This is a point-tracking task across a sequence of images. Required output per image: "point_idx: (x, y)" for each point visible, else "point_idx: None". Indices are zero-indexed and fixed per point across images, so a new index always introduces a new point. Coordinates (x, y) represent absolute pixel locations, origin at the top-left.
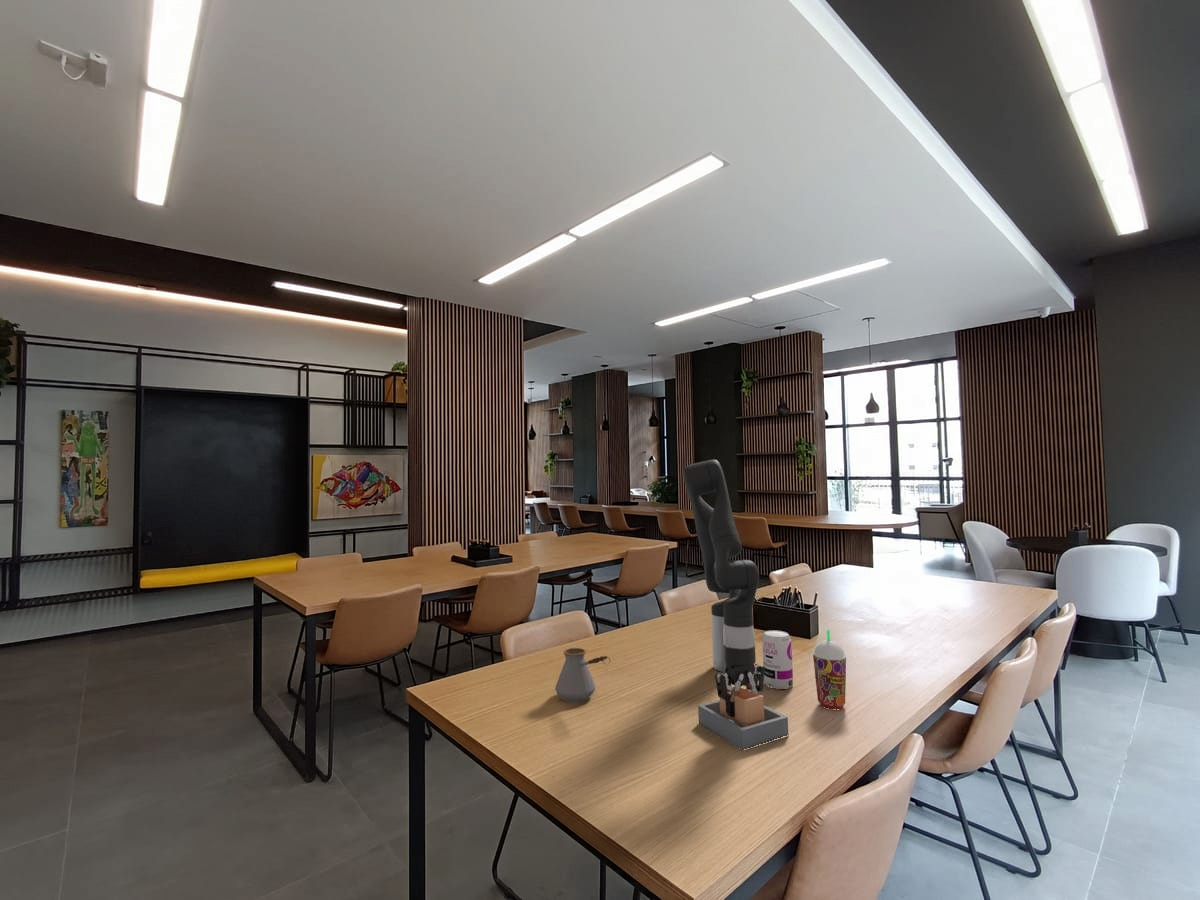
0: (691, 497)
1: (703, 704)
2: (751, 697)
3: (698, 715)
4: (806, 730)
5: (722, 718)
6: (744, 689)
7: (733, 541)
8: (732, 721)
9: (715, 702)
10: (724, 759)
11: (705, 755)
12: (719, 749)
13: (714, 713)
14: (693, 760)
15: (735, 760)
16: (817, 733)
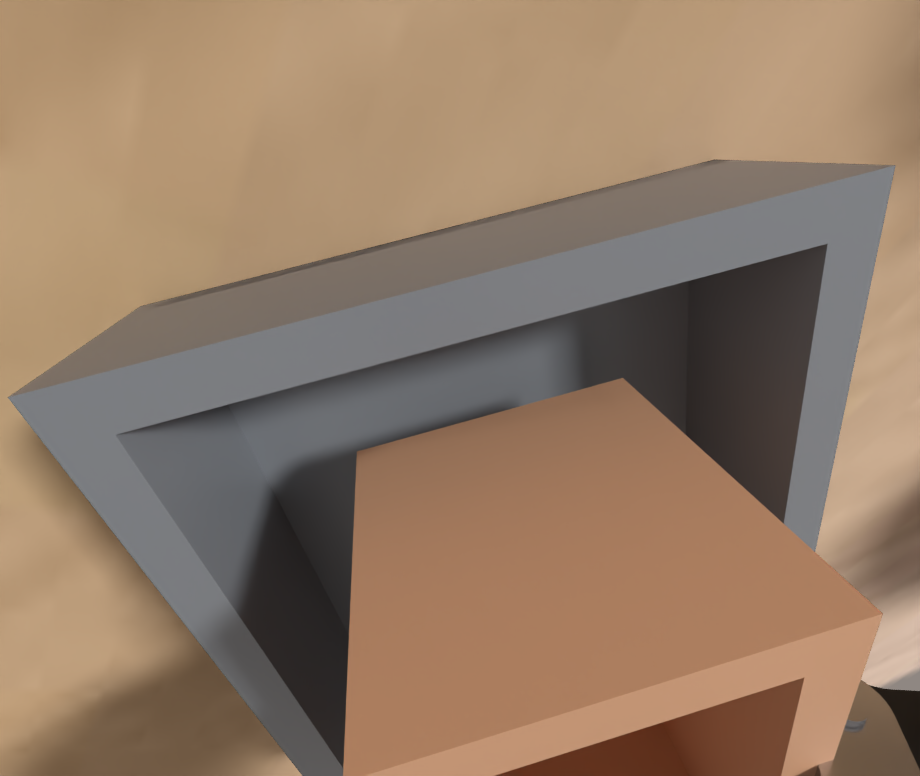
0: None
1: (118, 387)
2: (715, 763)
3: (95, 339)
4: (840, 540)
5: (271, 720)
6: (774, 773)
7: None
8: (482, 395)
9: (351, 358)
10: (217, 748)
11: (104, 721)
12: (220, 675)
13: (218, 634)
14: (9, 759)
15: (277, 753)
16: (853, 572)
